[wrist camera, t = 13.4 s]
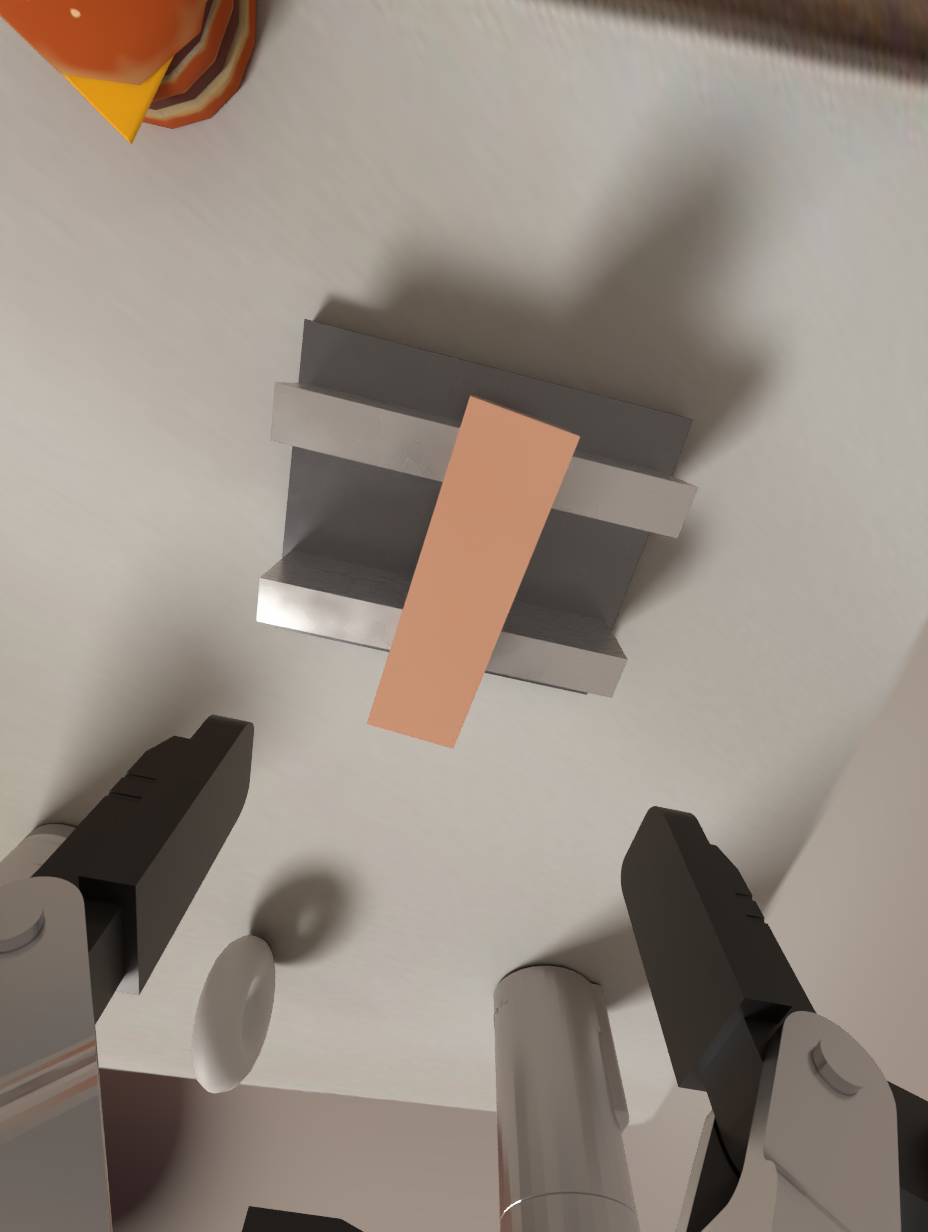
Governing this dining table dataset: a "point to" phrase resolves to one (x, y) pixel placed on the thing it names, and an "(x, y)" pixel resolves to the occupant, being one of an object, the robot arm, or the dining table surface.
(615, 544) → the aluminium rail channel
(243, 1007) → the donut
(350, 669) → the dining table surface
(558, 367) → the dining table surface
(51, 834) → the travel mug
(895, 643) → the dining table surface
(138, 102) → the hamburger
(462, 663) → the clay strip
